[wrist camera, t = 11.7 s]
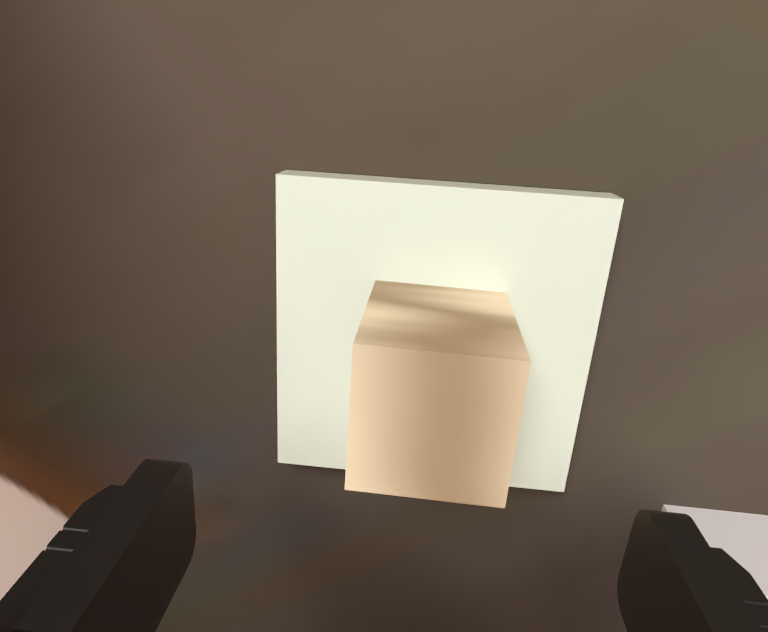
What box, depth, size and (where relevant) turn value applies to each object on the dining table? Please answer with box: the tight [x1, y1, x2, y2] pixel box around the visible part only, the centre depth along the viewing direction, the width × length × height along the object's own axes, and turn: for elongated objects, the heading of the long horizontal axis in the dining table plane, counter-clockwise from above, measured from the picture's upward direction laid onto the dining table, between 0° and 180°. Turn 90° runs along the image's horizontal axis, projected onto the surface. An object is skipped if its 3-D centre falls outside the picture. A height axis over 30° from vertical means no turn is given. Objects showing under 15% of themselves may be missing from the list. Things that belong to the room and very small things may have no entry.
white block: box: [661, 504, 768, 599], centre depth 20 cm, size 4×4×4 cm
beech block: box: [345, 280, 531, 508], centre depth 16 cm, size 4×4×5 cm
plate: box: [276, 170, 624, 492], centre depth 19 cm, size 10×10×1 cm
